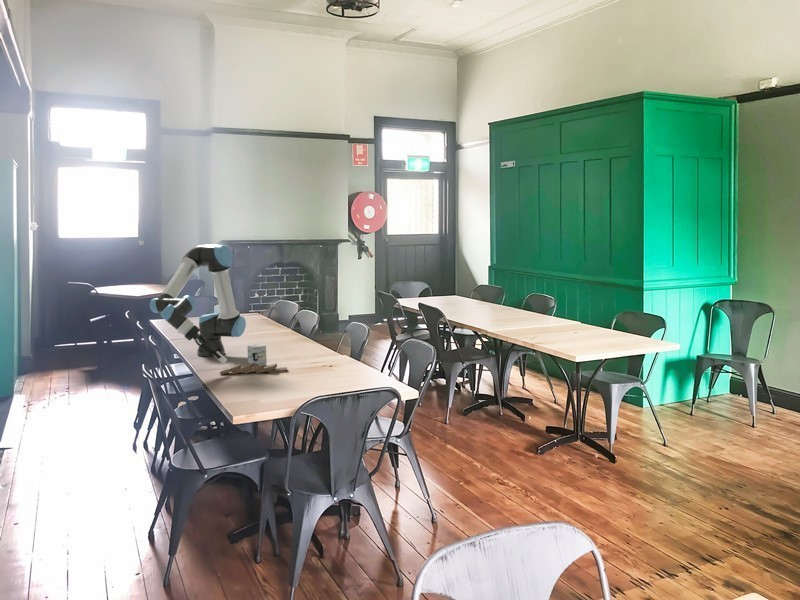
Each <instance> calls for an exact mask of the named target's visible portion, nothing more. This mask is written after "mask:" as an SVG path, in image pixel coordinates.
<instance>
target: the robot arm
mask: <svg viewBox="0 0 800 600" xmlns="http://www.w3.org/2000/svg"><path fill="white" fill-rule="evenodd" d="M232 252H233V251H232V250H231V248H230V247H229V246H227V245H225V244H224V245H223V244H220V243H219V244H198V245H197V246H195V247H193V248H191V249H190V250H188V251H187V253H185V254H184V256H183V257H182V258H181V260H180V265H179V267H178V268H177V270H176V271H175V273H174V274H173V276H172V277H171V279H170V280H169V282H168V283H167V285H166V286H165V287H164V289H163V290H162V292H161V294H160V295H159V297H154V298H152V299H151V300H150V302H149V308H150V310H151V312H152V313H156V314H160V316H161V317H162V319H163V320H164V321H166V322H167V323H168V324H169V325H171V326H172V327H173V328H174V329H175V330H177V333H178V334H181V335H182V336H184V338H185V339H186V340H188V341H192V339H193V340H194V342H195V343H196V345H197V347H198V348H197V353H196V354H197V356H199V357H214V358H216V360H218V361H219V362H220V363H221V364H222V365H224V364H225V363H226V362H227V361H228V359H227V358H226V357H225V356H224V355H225V353H226V351H225V347H224V344H223V342H222V337H224V338H225V337H226V338H239V337H241V336H242V335H243V334H244V332H245V330H246V324H247V323H246V318H245V317H244V316H242V315H240V311H239V310H237V308H236V303H235V297H234V294H233V288H232V284H231V283H232V282H231V278H230V273H229V270H230V269H231V266H232V264H233V261H234V260H233V259H234V257H233V253H232ZM200 267H207V268H208V272H209V273H211V274H212V279H213V284H214V287H215V292H216V297H217V302H218V303H217V304H218V307H219V312H220V313H219V312H213V313H208V314H207V313H206V314H202V315H200V316H199V317H198V326H197V325H194V323H193V322H192V321H191V320H190V319H189V318H188V317H187V315H188V314H189V313H190V312H192V310H193V309H194V308H195V306H196V300H195V298H194V297H192V296H191V295H188V294H187V295H184V296H182V297H181V298H178V296H179V295H180V293H181V291H182V290H183V289H184V287H185V286H186V284H187V283H188V281H189V280H190V278H191V276H192V275H193V274H194V272H196V271H197V270H198V269H199V268H200Z"/></svg>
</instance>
